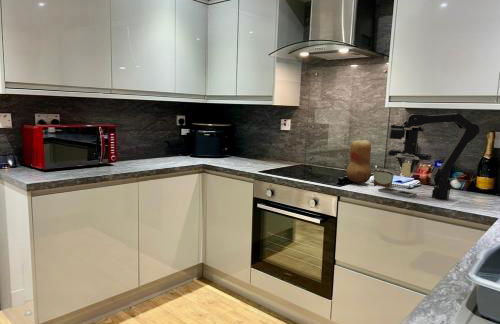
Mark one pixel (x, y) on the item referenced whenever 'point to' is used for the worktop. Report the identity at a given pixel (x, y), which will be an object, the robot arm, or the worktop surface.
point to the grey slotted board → (397, 192)
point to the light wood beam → (406, 169)
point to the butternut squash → (359, 162)
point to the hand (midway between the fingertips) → (407, 172)
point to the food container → (383, 177)
